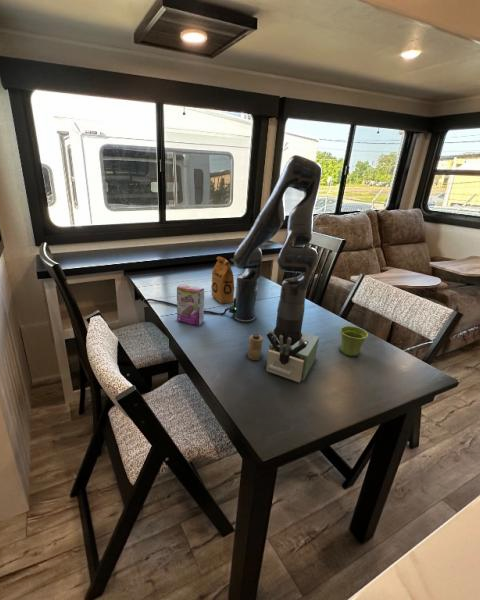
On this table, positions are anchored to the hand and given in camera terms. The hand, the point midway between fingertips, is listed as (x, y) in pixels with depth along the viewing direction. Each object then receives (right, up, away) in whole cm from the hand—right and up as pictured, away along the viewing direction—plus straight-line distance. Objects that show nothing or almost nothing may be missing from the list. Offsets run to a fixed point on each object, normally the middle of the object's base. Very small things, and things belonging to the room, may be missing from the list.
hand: (283, 363), depth 98 cm
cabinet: (+6, -3, +12) cm, 13 cm away
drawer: (+3, -4, +7) cm, 8 cm away
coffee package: (-16, +20, +64) cm, 69 cm away
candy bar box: (-32, +10, +40) cm, 52 cm away
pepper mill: (-7, -1, +15) cm, 17 cm away
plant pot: (+30, 0, +20) cm, 36 cm away
